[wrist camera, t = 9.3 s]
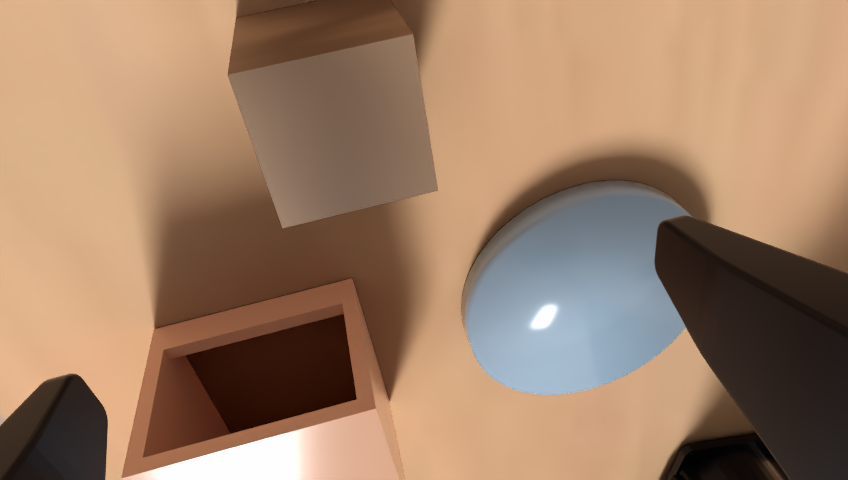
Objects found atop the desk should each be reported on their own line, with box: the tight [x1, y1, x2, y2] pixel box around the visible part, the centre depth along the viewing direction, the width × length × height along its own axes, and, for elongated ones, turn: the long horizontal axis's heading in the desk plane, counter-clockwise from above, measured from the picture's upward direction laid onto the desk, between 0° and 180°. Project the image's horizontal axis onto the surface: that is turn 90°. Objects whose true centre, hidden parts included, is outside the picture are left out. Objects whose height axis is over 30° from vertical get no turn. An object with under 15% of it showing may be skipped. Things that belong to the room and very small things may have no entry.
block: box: [228, 0, 438, 228], centre depth 16 cm, size 4×4×4 cm
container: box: [121, 278, 406, 480], centre depth 21 cm, size 7×7×6 cm
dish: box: [461, 180, 692, 395], centre depth 24 cm, size 10×10×1 cm
